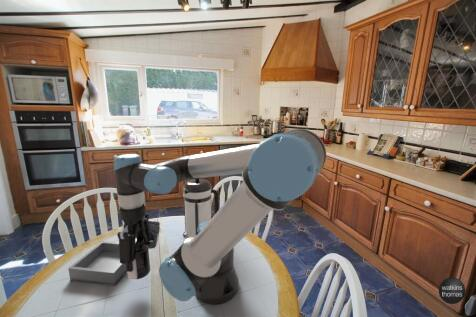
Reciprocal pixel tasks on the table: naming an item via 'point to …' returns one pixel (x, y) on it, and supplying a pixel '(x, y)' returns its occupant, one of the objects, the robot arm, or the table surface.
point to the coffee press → (198, 204)
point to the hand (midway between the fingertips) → (139, 270)
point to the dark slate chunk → (153, 232)
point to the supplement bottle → (141, 257)
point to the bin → (99, 265)
